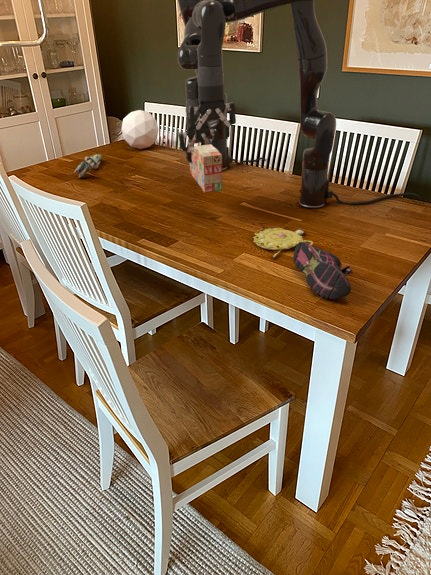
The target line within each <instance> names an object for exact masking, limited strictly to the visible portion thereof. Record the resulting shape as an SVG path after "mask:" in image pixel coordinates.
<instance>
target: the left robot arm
mask: <svg viewBox="0 0 431 575" xmlns="http://www.w3.org/2000/svg"><path fill="white" fill-rule="evenodd" d="M201 1H204V0H177V4H178V7H179V12H180V15H181V18H182V19H181V20H182V23H183V25H184V35H183V36H184V37H183V40H182V42H181V44H180V46H179V48H178V52H177V63H178V65H179V67H180V68H181V69H182V70H185V71H195V76H192V77H188V78H187V79H185V82H184V88H185V90H184V91H185V118H186V130H185V131H184V132H180V131H179V132H178V133H177V136H178V142H179V146H180V150H182V152H185V154H186V155H185V156H186V160H187V162H188V164H189V163H192V156H191V149H192V148H194V146H195V144H199V143H201V144H203V143H204V145H209V144H211V145H212V146H213V147H215V148H216V149H217V150H218V151H219V152H220V153H221V154H222V172H223V171H226V170H227V169H229V168H230V164H233V162H234V163H235V164H236V165H239V166H240V165H242V164H244V163H255V162H258V161H260V160H262V161H267V159H266V158H265V157H258V158H256V159H244V160H242V161H240V162H238V160H237V159H235V158H233V157H232V156H230V148H229V146H228V139H226V140H225V139H224V123H223V122H222V121H221V119H220V118H219V119H218V120H211V121H208V120H206V121H205V122H204V123H203V124H202V126H201V128H200V130H201V142H198V141H197V140H196V138H195V129H194V128H191V127H190V126H189V125H188V107H189V106H190V105H191V106H198V104H199V96H198V82H197V79H198V55H197V49H198V45H199V44H200V43H201V33H202V30H200V29H199V28H197V27H196V26H195V24H194V22H193V19H192V13H193V10H194V8H195V6H196V5H197V4H198V3H199V2H201ZM224 103H225V104H227V103H229V101H228V94H227V93H226V92H225V91H224ZM223 115H224V116H225V117H226V119H227V120H228V110H227V108H225V110H224V112H223ZM199 116H200V112H199V111H198V110H197V111H196V114H194V124H195V123H196V122H197V120H198V117H199ZM186 137H187V138H188V141H187V145H186V144H185V139H186Z"/></svg>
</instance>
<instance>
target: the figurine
mask: <svg viewBox="0 0 431 575" xmlns="http://www.w3.org/2000/svg"><path fill="white" fill-rule="evenodd" d="M102 161H103V156H102V154H94V155H91V156H88V155H86V156H84V160H82V161H81V162H80V163H79V164H78V166H76V168H75V170H74V171H73V174H74V175H75V176H76V175H77V174H78V176H77V177H78V179H81V178H82V177H83V176H85V174H87V173H88V172H89V171H90V170H92V169H95V170H97V169H99V166H100V164H101V162H102Z"/></svg>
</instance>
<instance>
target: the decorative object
mask: <svg viewBox="0 0 431 575" xmlns="http://www.w3.org/2000/svg"><path fill="white" fill-rule="evenodd" d="M304 234H305V231H304V230H302V229H297V230H295V231H293V230H289V229H284V228H282V227H273V228H268V229H267V228H264V229H263V230H260V231H259V232H256V233H254V234H253V235H254V236H253V237H252V239H253V241H252V242H253V243H255V245H256V246H258V247H260V248H262V249H265V250H274V251H277V252H276V253H274V254H273V255H272V258H274V259H275V258H276V257H277V256H278V254H279V253H280V252H282V251H283V250H289V249H291V248H296V246H297V244H298V243H299V242H306V243H309V245H310V246H313V245H314V242H313V241H312V240H306V239H304V237H303V235H304Z"/></svg>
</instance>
